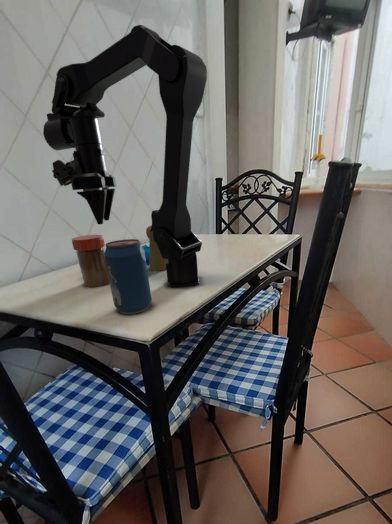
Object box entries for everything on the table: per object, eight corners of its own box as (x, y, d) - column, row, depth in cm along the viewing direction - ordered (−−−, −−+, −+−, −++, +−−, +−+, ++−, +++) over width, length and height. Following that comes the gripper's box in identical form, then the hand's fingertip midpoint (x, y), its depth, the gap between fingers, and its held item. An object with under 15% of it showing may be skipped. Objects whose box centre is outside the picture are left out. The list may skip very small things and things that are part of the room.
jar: (112, 278, 79) (104, 237, 74) (108, 285, 73) (98, 241, 69) (87, 280, 79) (77, 239, 74) (81, 288, 73) (70, 244, 68)
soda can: (157, 302, 61) (148, 237, 55) (144, 315, 55) (133, 245, 49) (125, 301, 63) (113, 239, 57) (109, 314, 57) (94, 246, 51)
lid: (67, 251, 70) (64, 240, 69) (85, 244, 76) (83, 235, 75) (94, 250, 68) (91, 239, 67) (110, 244, 74) (108, 234, 73)
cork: (168, 270, 82) (163, 226, 77) (146, 270, 83) (140, 227, 78) (174, 264, 87) (169, 222, 82) (153, 265, 89) (148, 223, 83)
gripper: (64, 151, 76) (80, 220, 83) (34, 143, 59) (57, 230, 67) (110, 148, 76) (122, 217, 84) (93, 139, 60) (109, 226, 67)
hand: (103, 222), depth 75 cm, fingers open, 8 cm apart
